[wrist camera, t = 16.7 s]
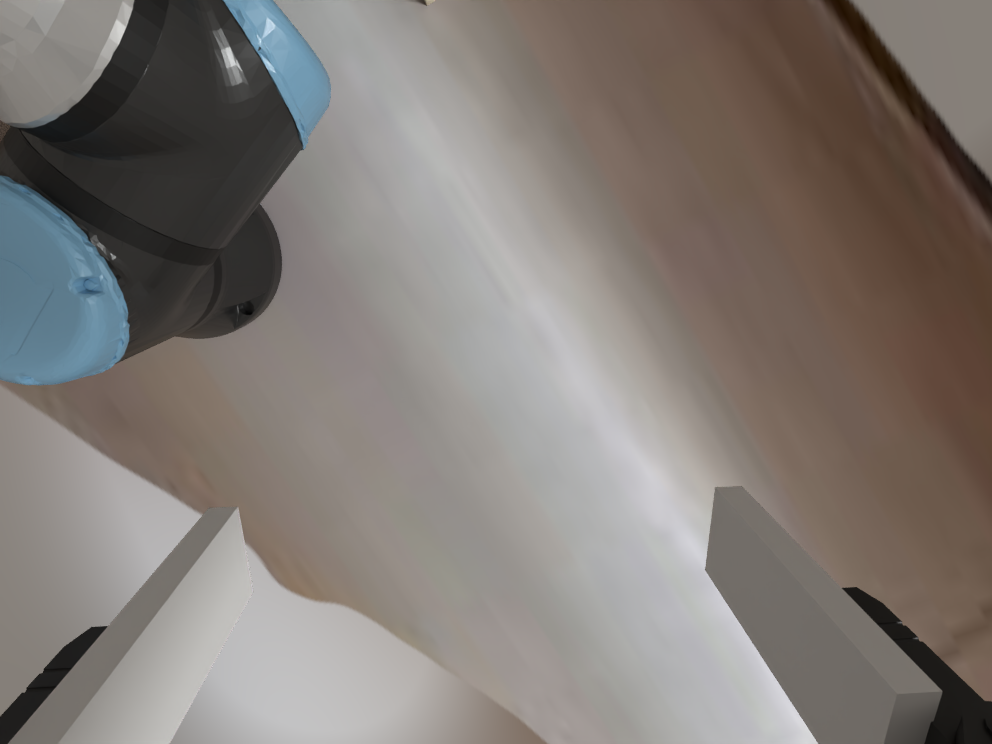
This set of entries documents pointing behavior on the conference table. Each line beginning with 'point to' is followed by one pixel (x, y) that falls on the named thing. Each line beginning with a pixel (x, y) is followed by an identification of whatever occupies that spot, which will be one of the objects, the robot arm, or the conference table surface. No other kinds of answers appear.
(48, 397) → the conference table surface
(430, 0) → the tower lower slab
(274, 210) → the conference table surface
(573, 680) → the conference table surface
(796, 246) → the conference table surface
